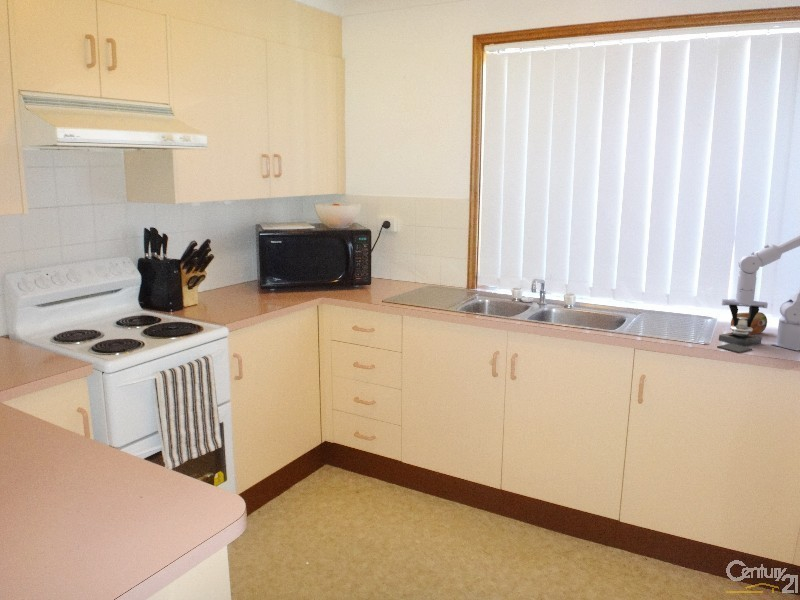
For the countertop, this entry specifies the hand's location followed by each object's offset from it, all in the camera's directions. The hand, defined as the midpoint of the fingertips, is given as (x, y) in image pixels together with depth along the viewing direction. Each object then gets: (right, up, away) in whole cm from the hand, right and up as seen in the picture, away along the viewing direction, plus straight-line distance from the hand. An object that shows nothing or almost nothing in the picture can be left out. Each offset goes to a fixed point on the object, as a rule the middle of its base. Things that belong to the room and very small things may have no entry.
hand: (741, 325), depth 236 cm
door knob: (0, -3, +1) cm, 3 cm away
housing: (0, -6, +1) cm, 6 cm away
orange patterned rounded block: (+9, -4, +14) cm, 17 cm away
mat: (-7, -8, -9) cm, 13 cm away
